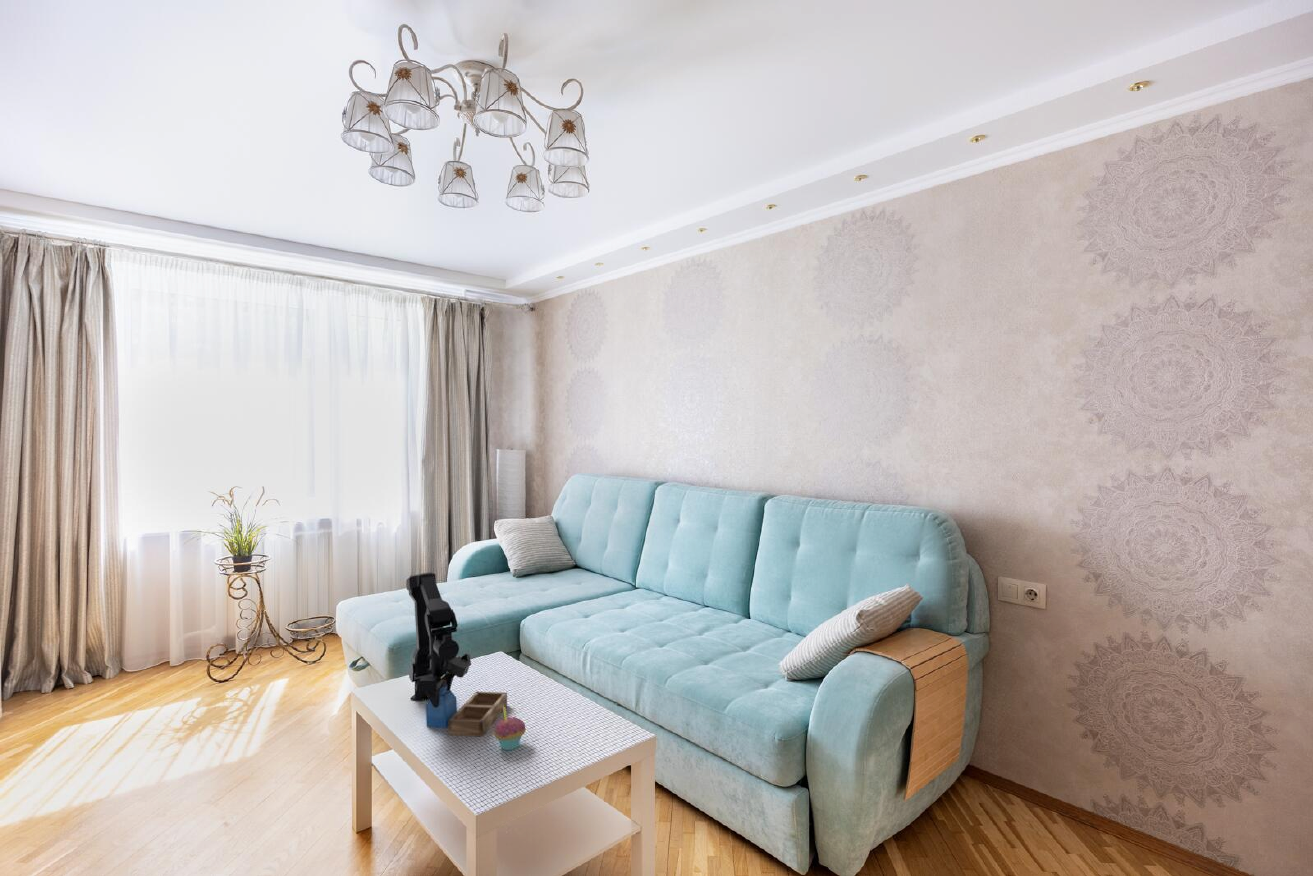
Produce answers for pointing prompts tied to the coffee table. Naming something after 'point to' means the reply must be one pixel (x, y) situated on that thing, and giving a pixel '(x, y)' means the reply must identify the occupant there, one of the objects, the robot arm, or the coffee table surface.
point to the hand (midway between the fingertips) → (441, 702)
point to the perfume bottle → (441, 709)
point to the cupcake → (509, 732)
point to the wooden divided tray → (477, 714)
